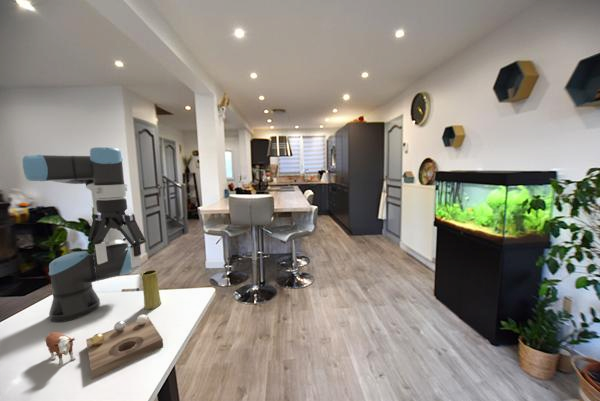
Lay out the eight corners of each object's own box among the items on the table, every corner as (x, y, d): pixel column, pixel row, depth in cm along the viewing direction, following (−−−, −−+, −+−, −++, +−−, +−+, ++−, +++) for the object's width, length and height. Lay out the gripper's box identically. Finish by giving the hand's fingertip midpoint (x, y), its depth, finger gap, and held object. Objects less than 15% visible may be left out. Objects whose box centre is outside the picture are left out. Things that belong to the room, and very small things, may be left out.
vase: (151, 301, 105) (148, 269, 104) (164, 301, 104) (161, 269, 103) (140, 309, 99) (136, 275, 98) (154, 309, 98) (150, 275, 97)
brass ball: (91, 344, 75) (89, 334, 75) (104, 339, 77) (103, 329, 77) (91, 349, 73) (90, 339, 72) (105, 344, 75) (104, 334, 75)
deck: (87, 346, 78) (86, 339, 77) (148, 323, 89) (147, 316, 89) (92, 379, 65) (91, 370, 65) (163, 346, 77) (162, 338, 76)
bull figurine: (60, 374, 67) (56, 346, 66) (45, 356, 74) (41, 331, 73) (81, 363, 71) (77, 336, 70) (65, 347, 78) (61, 323, 77)
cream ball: (136, 324, 85) (134, 315, 84) (146, 320, 87) (145, 311, 87) (138, 328, 82) (137, 319, 82) (149, 323, 85) (148, 315, 84)
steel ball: (113, 331, 81) (112, 322, 81) (125, 326, 83) (124, 317, 83) (115, 335, 79) (114, 326, 79) (127, 330, 81) (126, 321, 81)
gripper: (67, 199, 76) (76, 265, 78) (133, 200, 70) (140, 272, 72) (93, 196, 83) (100, 257, 86) (154, 197, 77) (160, 262, 80)
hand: (119, 264), depth 79 cm, fingers open, 13 cm apart
